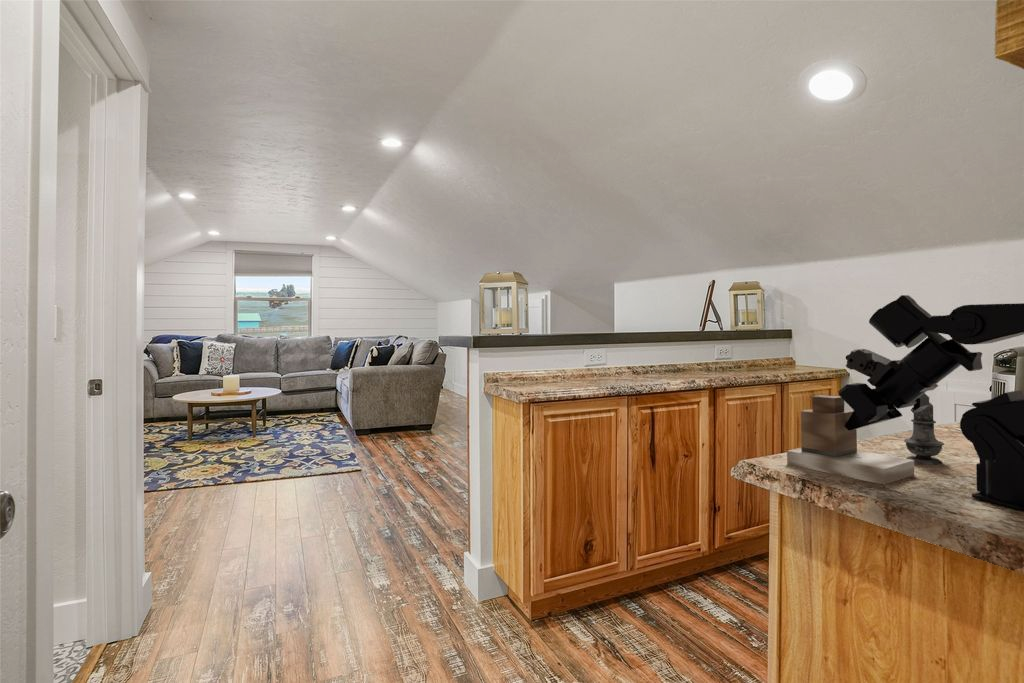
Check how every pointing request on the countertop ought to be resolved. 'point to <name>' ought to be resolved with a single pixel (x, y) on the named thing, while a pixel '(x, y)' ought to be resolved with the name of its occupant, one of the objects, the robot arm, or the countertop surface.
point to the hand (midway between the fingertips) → (847, 428)
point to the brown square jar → (827, 428)
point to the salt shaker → (924, 438)
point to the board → (855, 465)
